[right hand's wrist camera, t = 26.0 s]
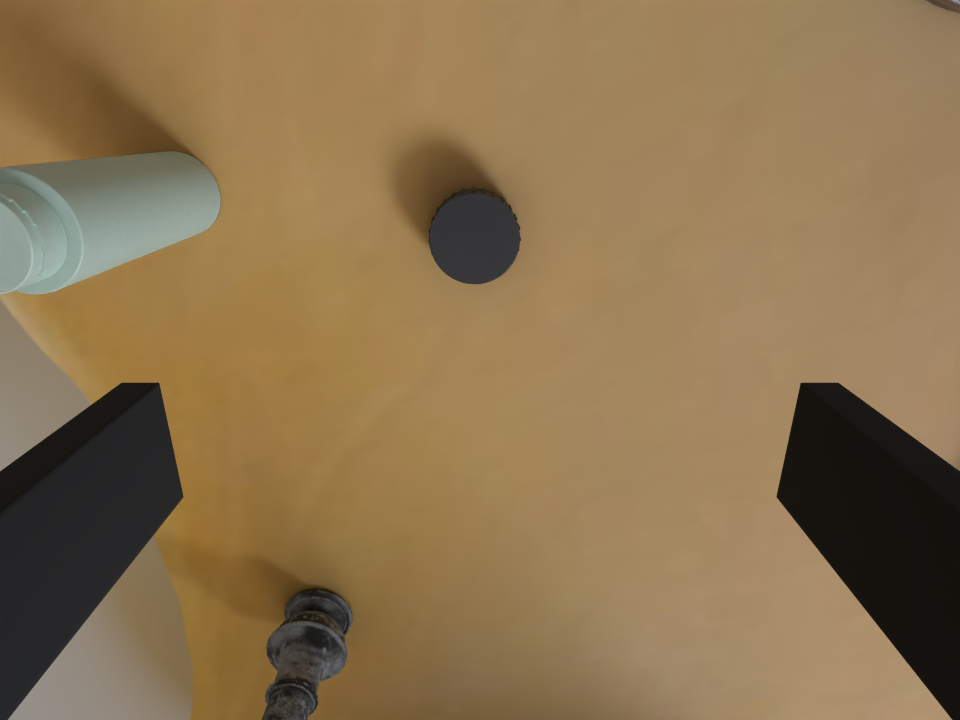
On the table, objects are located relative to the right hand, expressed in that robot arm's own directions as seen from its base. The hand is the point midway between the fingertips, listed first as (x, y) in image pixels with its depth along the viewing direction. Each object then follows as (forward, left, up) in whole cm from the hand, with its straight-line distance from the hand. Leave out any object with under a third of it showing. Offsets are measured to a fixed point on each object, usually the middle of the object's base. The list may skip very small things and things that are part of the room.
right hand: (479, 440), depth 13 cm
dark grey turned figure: (+32, +8, -26) cm, 42 cm away
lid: (0, 0, -24) cm, 24 cm away
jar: (+9, -16, -26) cm, 32 cm away
